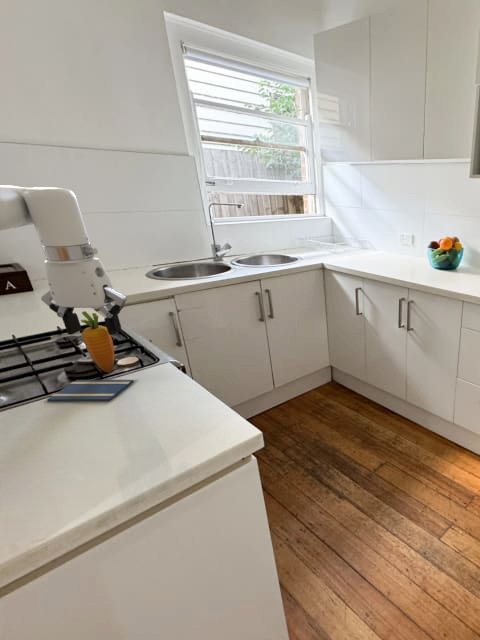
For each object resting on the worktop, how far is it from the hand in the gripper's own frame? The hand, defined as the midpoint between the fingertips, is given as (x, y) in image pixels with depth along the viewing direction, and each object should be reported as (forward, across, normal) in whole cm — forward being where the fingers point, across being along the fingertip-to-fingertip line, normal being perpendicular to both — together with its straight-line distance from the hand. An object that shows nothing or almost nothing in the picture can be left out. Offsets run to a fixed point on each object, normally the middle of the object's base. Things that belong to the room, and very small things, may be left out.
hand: (95, 332), depth 84 cm
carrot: (+10, 0, 0) cm, 10 cm away
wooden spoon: (+10, +3, -5) cm, 12 cm away
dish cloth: (+10, -2, +8) cm, 13 cm away
